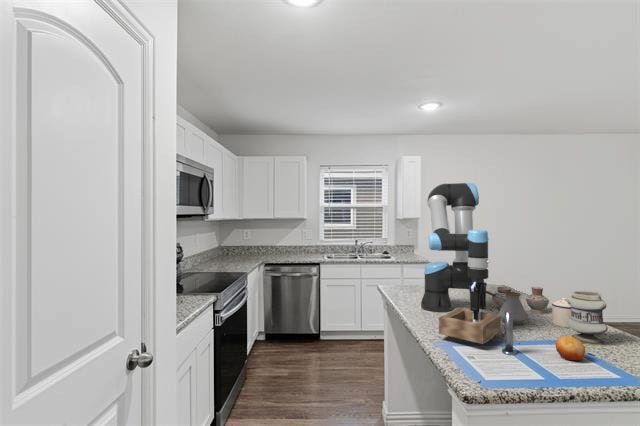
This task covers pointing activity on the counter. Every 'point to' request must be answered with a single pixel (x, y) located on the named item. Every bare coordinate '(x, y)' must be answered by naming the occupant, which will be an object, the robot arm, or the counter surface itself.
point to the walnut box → (469, 325)
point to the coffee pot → (512, 307)
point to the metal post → (509, 334)
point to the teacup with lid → (561, 312)
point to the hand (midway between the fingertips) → (478, 326)
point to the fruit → (570, 348)
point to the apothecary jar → (587, 316)
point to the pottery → (534, 300)
